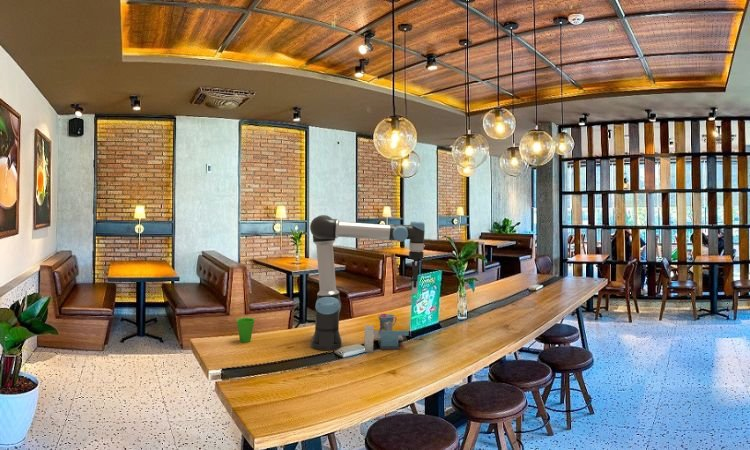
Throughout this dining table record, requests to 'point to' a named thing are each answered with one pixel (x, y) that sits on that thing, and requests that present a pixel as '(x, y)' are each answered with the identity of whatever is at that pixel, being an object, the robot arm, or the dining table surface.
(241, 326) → the cup
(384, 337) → the notched panel with ball
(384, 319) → the mug
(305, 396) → the dining table surface
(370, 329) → the grey rectangular block
